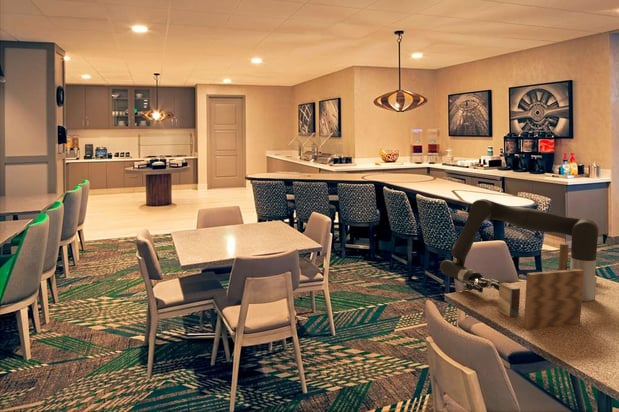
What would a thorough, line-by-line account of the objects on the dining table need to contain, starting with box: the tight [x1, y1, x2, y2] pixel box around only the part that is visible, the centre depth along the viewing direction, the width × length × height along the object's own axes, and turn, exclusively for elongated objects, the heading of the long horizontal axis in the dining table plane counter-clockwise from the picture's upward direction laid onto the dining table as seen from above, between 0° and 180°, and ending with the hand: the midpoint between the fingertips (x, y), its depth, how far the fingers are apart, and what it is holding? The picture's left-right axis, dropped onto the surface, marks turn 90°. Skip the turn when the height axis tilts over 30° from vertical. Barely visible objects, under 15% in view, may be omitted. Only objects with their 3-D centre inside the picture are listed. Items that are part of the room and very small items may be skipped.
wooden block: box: [557, 242, 570, 271], centre depth 229 cm, size 4×11×18 cm, turn 58°
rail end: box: [497, 282, 521, 318], centre depth 191 cm, size 3×8×11 cm, turn 13°
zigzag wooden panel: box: [523, 269, 584, 330], centre depth 181 cm, size 22×7×20 cm, turn 103°
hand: (491, 289), depth 202 cm, fingers open, 8 cm apart
